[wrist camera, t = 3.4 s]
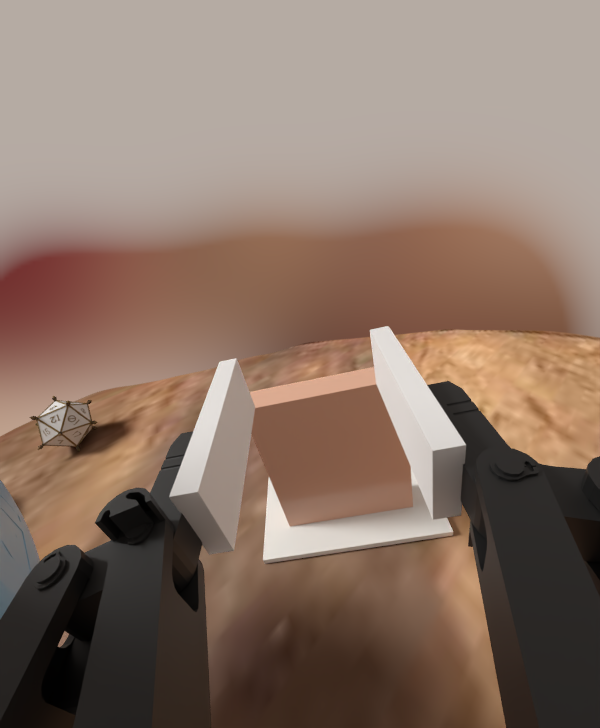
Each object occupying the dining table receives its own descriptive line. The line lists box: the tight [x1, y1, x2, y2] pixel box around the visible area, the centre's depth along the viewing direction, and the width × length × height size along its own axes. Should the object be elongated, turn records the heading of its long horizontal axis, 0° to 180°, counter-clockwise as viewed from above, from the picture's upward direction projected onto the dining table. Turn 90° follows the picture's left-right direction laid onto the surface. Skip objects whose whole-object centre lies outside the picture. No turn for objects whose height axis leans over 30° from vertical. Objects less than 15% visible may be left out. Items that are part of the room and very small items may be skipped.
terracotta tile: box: [250, 367, 413, 526], centre depth 27 cm, size 12×2×15 cm, turn 92°
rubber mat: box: [263, 468, 453, 564], centre depth 37 cm, size 21×17×1 cm
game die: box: [30, 396, 97, 451], centre depth 50 cm, size 9×8×10 cm
